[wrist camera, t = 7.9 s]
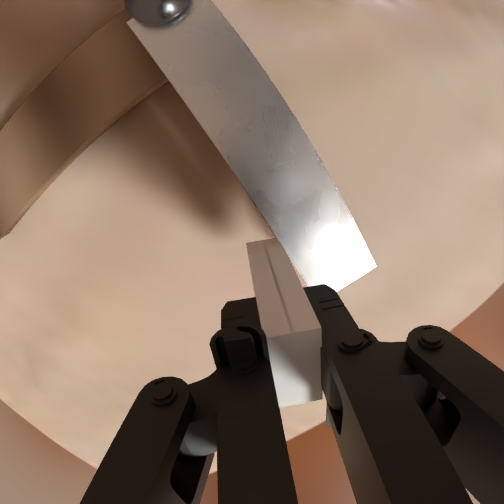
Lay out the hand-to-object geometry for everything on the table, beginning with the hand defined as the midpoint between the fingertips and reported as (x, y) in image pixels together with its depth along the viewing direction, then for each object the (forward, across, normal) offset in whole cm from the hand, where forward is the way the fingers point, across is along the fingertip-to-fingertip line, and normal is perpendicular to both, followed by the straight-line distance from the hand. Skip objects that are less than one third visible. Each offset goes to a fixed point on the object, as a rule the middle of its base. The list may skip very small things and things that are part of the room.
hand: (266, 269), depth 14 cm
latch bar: (+2, 0, +6) cm, 6 cm away
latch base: (+3, -8, +9) cm, 13 cm away
